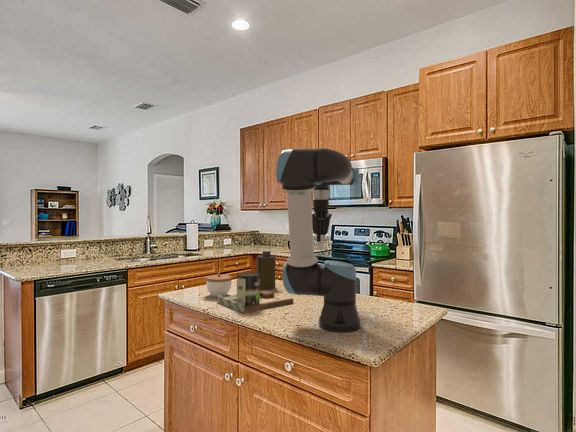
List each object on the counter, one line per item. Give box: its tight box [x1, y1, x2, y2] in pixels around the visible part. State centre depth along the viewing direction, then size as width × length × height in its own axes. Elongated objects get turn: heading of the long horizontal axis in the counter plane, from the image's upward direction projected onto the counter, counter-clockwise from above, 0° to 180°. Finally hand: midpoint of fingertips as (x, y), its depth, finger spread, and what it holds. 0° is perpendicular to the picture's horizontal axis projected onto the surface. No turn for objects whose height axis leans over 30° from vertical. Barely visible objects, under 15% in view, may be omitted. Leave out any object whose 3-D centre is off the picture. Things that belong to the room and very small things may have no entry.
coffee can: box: [236, 272, 261, 306], centre depth 160 cm, size 10×10×14 cm
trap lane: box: [217, 290, 294, 314], centre depth 165 cm, size 22×27×3 cm
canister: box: [256, 250, 276, 291], centre depth 198 cm, size 11×10×20 cm
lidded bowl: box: [205, 272, 233, 298], centre depth 180 cm, size 13×13×11 cm
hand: (320, 248), depth 173 cm, fingers closed
